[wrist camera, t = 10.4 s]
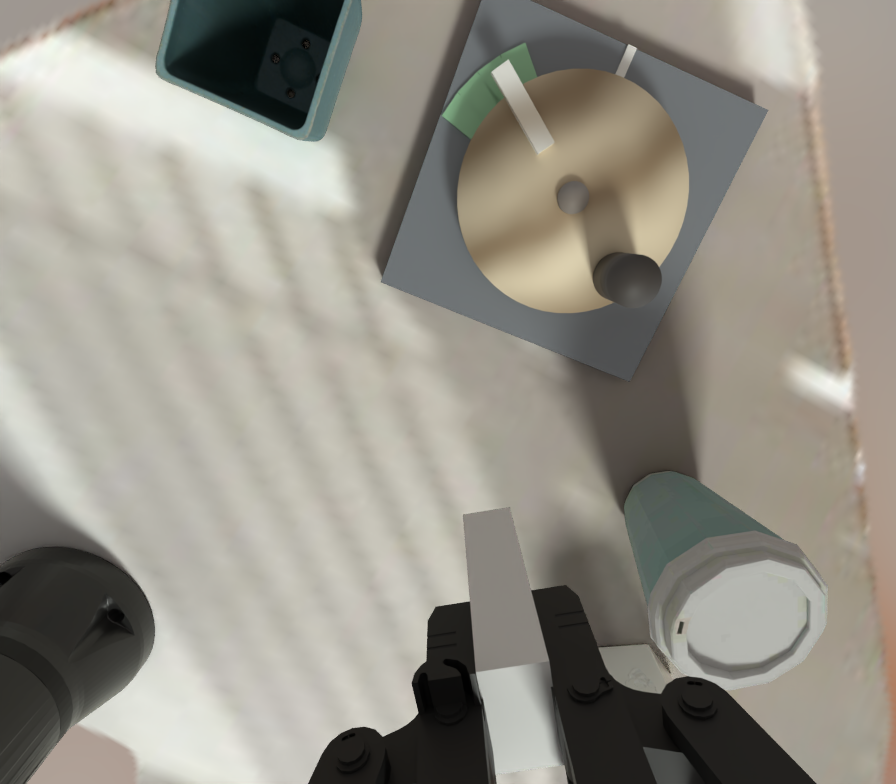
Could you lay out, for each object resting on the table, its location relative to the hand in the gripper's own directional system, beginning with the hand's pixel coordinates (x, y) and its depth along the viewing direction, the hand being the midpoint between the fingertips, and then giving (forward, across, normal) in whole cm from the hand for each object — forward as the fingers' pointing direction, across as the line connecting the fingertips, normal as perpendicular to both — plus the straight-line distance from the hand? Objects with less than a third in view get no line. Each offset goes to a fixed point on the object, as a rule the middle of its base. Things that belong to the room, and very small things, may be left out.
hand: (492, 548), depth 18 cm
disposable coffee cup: (+26, +14, -15) cm, 33 cm away
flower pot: (+27, -8, +22) cm, 35 cm away
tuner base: (+26, +9, +11) cm, 30 cm away
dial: (+24, +9, +11) cm, 28 cm away
